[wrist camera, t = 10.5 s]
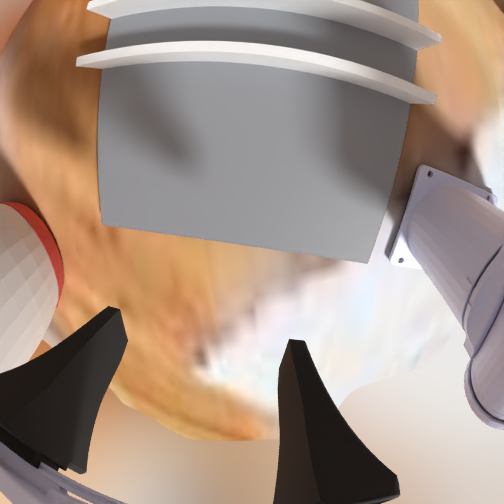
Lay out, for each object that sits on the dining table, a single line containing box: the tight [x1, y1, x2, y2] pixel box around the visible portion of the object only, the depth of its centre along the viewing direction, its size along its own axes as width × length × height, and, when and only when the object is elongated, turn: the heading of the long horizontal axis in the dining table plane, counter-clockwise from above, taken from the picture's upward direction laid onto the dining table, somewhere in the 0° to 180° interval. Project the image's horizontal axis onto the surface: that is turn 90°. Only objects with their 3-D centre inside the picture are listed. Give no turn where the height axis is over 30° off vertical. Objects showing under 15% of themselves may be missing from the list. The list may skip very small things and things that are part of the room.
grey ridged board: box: [76, 0, 441, 264], centre depth 11 cm, size 20×26×4 cm
